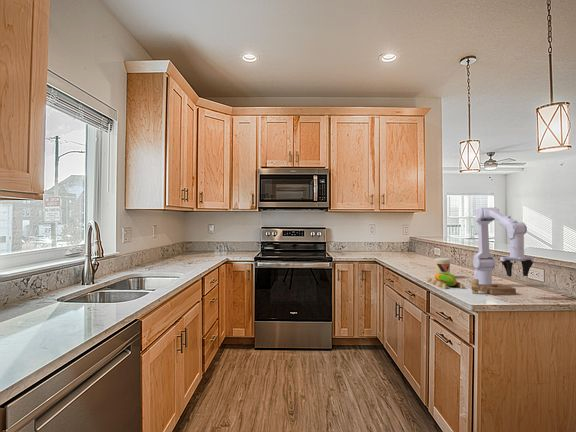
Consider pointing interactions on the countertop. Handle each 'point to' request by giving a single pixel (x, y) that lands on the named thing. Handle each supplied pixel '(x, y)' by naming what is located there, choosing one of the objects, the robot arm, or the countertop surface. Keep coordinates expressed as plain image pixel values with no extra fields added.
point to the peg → (475, 286)
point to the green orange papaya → (446, 279)
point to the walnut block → (497, 289)
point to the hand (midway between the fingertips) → (517, 275)
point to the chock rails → (442, 283)
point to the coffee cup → (442, 265)
